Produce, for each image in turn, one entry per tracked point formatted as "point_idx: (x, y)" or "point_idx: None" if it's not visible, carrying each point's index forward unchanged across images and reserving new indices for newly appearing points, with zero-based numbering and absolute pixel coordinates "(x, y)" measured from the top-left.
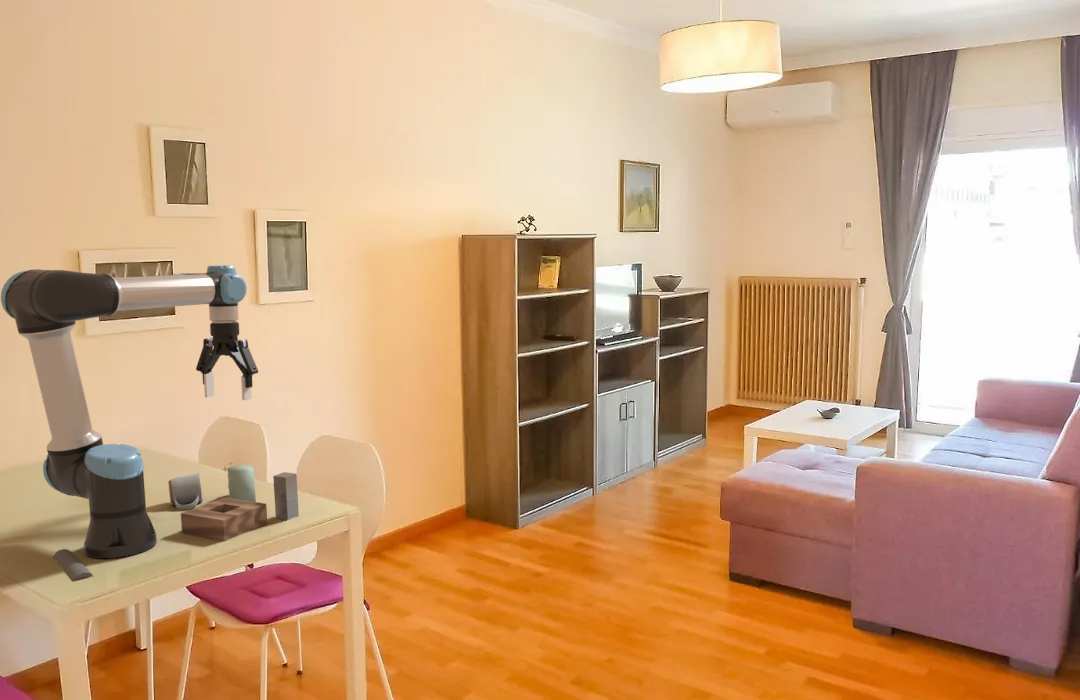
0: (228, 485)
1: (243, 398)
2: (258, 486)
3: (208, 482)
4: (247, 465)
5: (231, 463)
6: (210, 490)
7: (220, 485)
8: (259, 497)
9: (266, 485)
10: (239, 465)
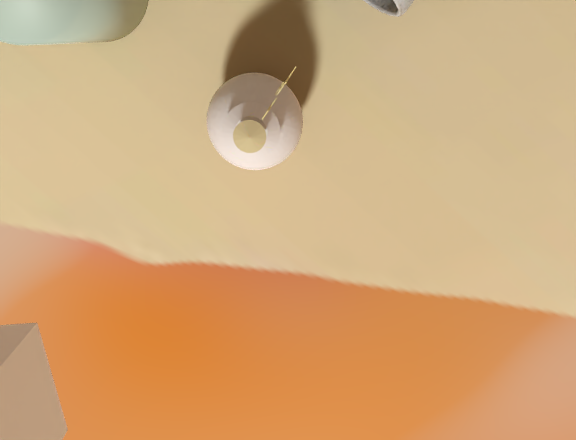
0: (276, 79)
1: (4, 339)
2: (291, 234)
3: (525, 189)
4: (25, 26)
5: (266, 112)
6: (429, 112)
7: (444, 180)
8: (166, 129)
9: (273, 255)
10: (66, 5)
